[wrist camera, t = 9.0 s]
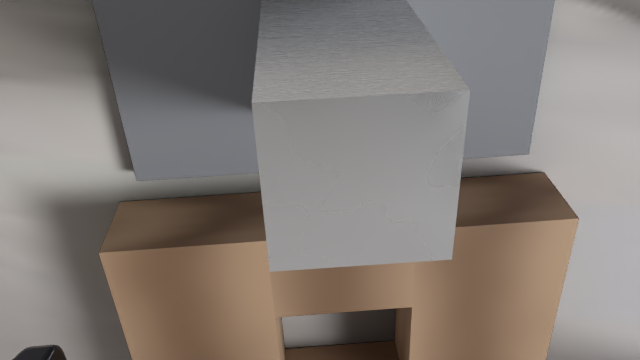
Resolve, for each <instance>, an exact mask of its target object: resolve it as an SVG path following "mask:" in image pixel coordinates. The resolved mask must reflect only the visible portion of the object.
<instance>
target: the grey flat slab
mask: <svg viewBox="0 0 640 360" xmlns="http://www.w3.org/2000/svg"><path fill="white" fill-rule="evenodd" d="M554 1H555V0H407V2H408V3H409V4H410V6H411V7H412V9H413V10H414V11H415V13H416V14H417V16H418V17H419V18H420V20H421V21H422V23H423V24H424V26H425V27H426V28H427V30H428V31H429V33H430V34H431V35H432V37H433V38H434V40H435V41H436V42H437V44H438V45H439V47H440V48H441V50H442V51H443V52H444V54H445V55H446V57H447V58H448V59H449V61H450V62H451V64H452V65H453V66H454V68H455V69H456V71H457V72H458V74H459V75H460V76H461V78H462V79H463V81H464V82H465V83H466V85H467V86H468V88H469V89H470V97H469V106H468V115H467V125H466V134H465V143H464V152H463V159H469V158H484V157H498V156H513V155H527V154H529V150H530V144H531V138H532V132H533V126H534V120H535V114H536V108H537V102H538V96H539V90H540V84H541V78H542V72H543V66H544V61H545V55H546V49H547V43H548V37H549V31H550V25H551V19H552V13H553V7H554ZM261 2H262V0H92V4H93V8H94V12H95V16H96V20H97V24H98V28H99V32H100V36H101V40H102V44H103V48H104V52H105V56H106V60H107V64H108V68H109V72H110V76H111V80H112V84H113V88H114V92H115V96H116V100H117V104H118V108H119V112H120V116H121V120H122V124H123V128H124V132H125V136H126V140H127V144H128V148H129V152H130V156H131V160H132V164H133V168H134V172H135V176H136V180H137V181H148V180H162V179H177V178H191V177H206V176H221V175H235V174H250V173H259V167H258V158H257V149H256V139H255V130H254V121H253V112H252V93H253V83H254V73H255V63H256V53H257V43H258V33H259V22H260V12H261Z"/></svg>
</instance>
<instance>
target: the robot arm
mask: <svg viewBox="0 0 640 360" xmlns="http://www.w3.org/2000/svg"><path fill="white" fill-rule="evenodd" d="M13 360H66V357H65V355H64V352H63V351H62V349H61V348H60V347H59V346H57V345H44V346H32V347H28V348H26V349H24V350H23V351H22V352H20V353H19V354H18V355H17V356H16V357H15V358H14V359H13Z"/></svg>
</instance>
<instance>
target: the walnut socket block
mask: <svg viewBox="0 0 640 360" xmlns="http://www.w3.org/2000/svg"><path fill="white" fill-rule="evenodd" d="M578 221H579V218H578V216H577V215H576V214H575V212H574V211H573V210H572V208H571V207H570V206H569V204H568V203H567V202H566V201H565V199H564V198H563V197H562V195H561V194H560V193H559V191H558V190H557V189H556V187H555V186H554V185H553V183H552V182H551V181H550V179H549V178H548V177H547V175H546V174H545V173H529V174H515V175H501V176H486V177H472V178H461V180H460V189H459V199H458V208H457V217H456V226H455V236H454V245H453V254H452V260H438V261H423V262H408V263H393V264H378V265H363V266H348V267H333V268H319V269H304V270H289V271H274V272H270V270H269V260H268V251H267V242H266V232H265V223H264V214H263V205H262V195H261V192H255V193H241V194H227V195H212V196H198V197H183V198H169V199H154V200H140V201H126V202H120V203H119V205H118V208H117V210H116V212H115V215H114V217H113V220H112V222H111V224H110V227H109V229H108V232H107V234H106V236H105V239H104V241H103V244H102V246H101V248H100V251H99V256H100V259H101V262H102V265H103V269H104V272H105V275H106V278H107V281H108V284H109V288H110V291H111V294H112V297H113V300H114V304H115V307H116V310H117V313H118V316H119V319H120V323H121V326H122V329H123V332H124V335H125V338H126V342H127V345H128V348H129V351H130V354H131V358H132V360H546V356H547V352H548V348H549V344H550V339H551V335H552V331H553V327H554V322H555V318H556V314H557V310H558V305H559V301H560V297H561V293H562V288H563V284H564V280H565V276H566V272H567V267H568V263H569V259H570V255H571V250H572V246H573V242H574V238H575V233H576V229H577V225H578ZM393 308H396V324H395V341H384V342H371V343H358V344H345V345H332V346H319V347H305V348H292V349H285V345H284V335H283V326H282V317H287V316H300V315H314V314H327V313H340V312H353V311H367V310H380V309H393Z"/></svg>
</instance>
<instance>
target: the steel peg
mask: <svg viewBox="0 0 640 360" xmlns="http://www.w3.org/2000/svg"><path fill="white" fill-rule="evenodd" d="M469 97H470V89H469V88H468V86H467V85H466V83H465V82H464V81H463V79H462V78H461V76H460V75H459V74H458V72H457V71H456V69H455V68H454V66H453V65H452V64H451V62H450V61H449V59H448V58H447V57H446V55H445V54H444V52H443V51H442V50H441V48H440V47H439V45H438V44H437V42H436V41H435V40H434V38H433V37H432V35H431V34H430V33H429V31H428V30H427V28H426V27H425V26H424V24H423V23H422V21H421V20H420V18H419V17H418V16H417V14H416V13H415V11H414V10H413V9H412V7H411V6H410V4H409V3H408V2H407V0H262V2H261V12H260V22H259V33H258V43H257V53H256V63H255V73H254V83H253V93H252V112H253V121H254V130H255V139H256V149H257V158H258V167H259V177H260V186H261V195H262V205H263V214H264V223H265V232H266V242H267V251H268V260H269V270H270V272H274V271H289V270H304V269H319V268H333V267H348V266H363V265H378V264H393V263H408V262H423V261H438V260H452V254H453V245H454V236H455V226H456V217H457V208H458V199H459V189H460V180H461V171H462V162H463V152H464V143H465V134H466V125H467V115H468V106H469Z"/></svg>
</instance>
